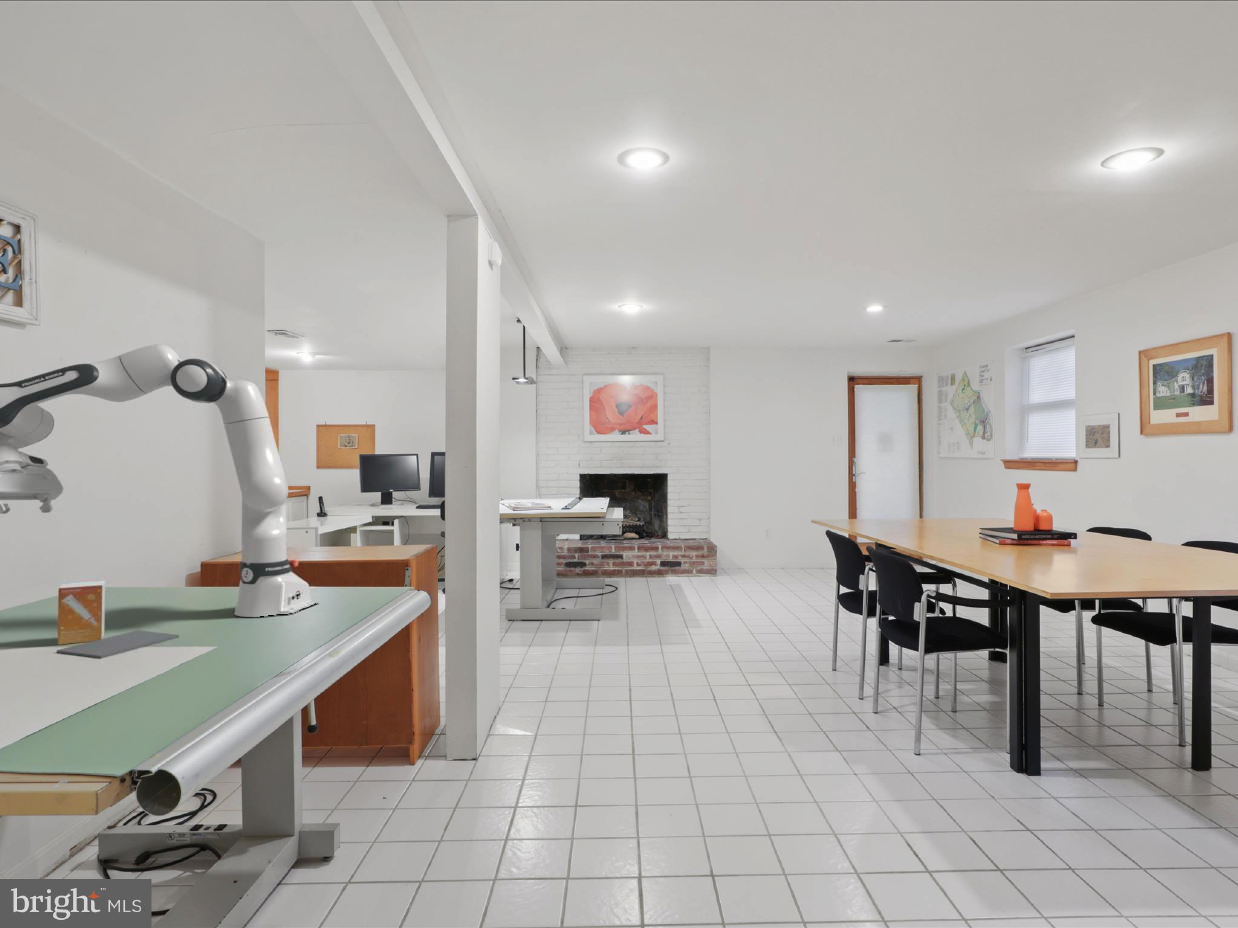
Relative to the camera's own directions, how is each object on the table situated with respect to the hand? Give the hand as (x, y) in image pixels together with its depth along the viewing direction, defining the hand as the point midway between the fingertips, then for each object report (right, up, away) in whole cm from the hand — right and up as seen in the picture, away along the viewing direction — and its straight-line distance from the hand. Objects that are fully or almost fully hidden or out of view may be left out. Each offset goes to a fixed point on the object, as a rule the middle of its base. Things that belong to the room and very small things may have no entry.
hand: (27, 511), depth 159 cm
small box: (+15, -30, -3) cm, 34 cm away
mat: (+27, -30, -7) cm, 41 cm away
